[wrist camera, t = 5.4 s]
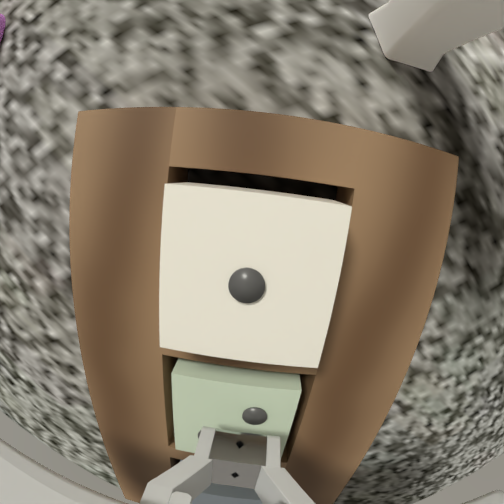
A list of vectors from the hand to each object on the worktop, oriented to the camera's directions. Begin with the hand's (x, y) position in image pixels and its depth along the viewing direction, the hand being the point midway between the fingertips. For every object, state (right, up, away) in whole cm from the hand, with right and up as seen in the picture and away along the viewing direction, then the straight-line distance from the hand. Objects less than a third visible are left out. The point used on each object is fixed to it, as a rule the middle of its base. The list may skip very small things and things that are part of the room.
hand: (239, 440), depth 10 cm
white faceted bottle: (+8, +17, 0) cm, 19 cm away
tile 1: (0, +7, +1) cm, 7 cm away
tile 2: (0, +1, +4) cm, 4 cm away
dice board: (0, +1, +4) cm, 4 cm away
